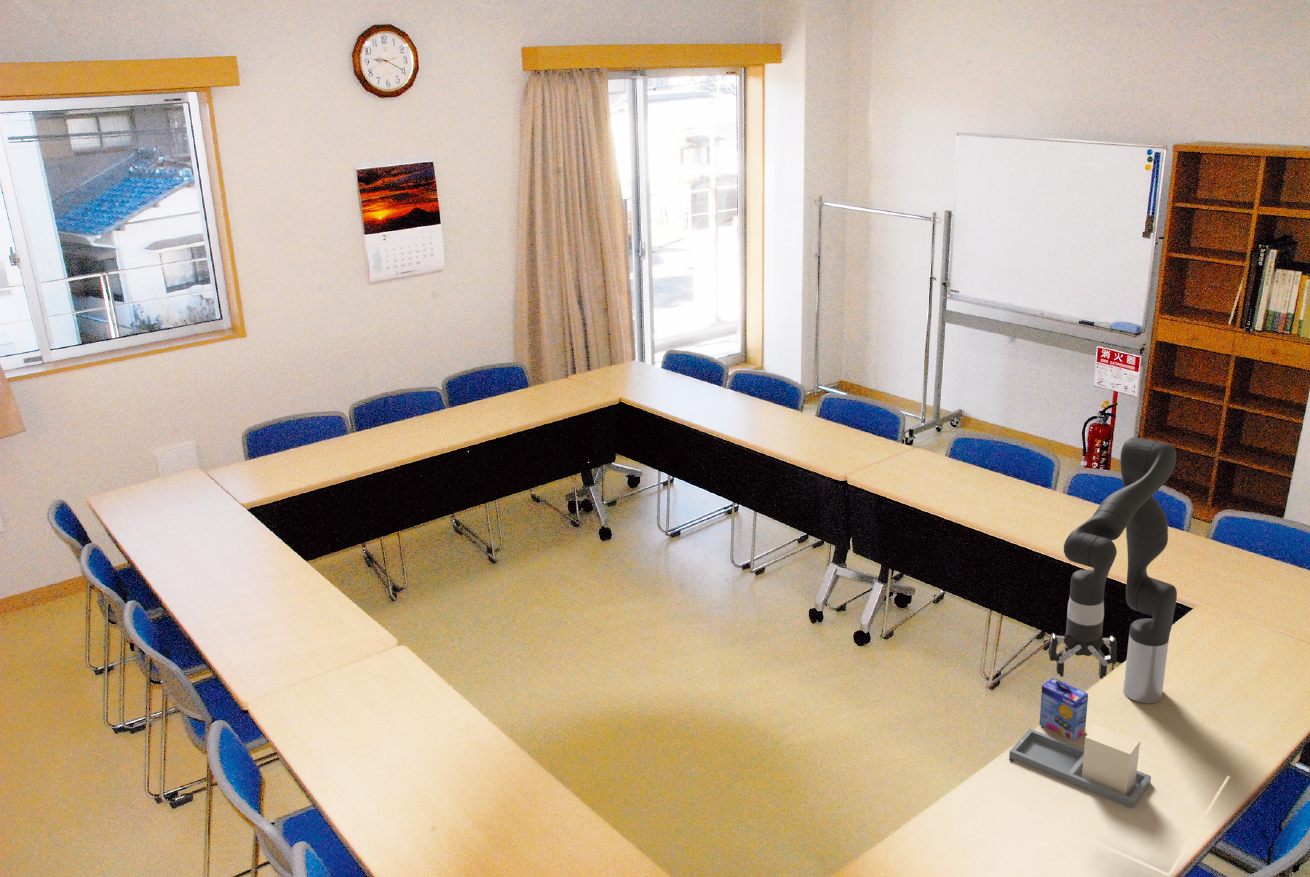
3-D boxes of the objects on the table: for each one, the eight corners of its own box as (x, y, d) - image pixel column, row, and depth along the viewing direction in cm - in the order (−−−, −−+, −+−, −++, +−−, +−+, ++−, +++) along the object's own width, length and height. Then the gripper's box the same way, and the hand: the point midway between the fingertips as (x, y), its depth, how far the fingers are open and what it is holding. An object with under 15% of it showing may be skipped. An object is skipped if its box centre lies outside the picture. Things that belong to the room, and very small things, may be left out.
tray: (1029, 736, 260) (1029, 728, 259) (1150, 784, 241) (1151, 775, 240) (1009, 759, 253) (1009, 750, 252) (1132, 810, 234) (1133, 801, 233)
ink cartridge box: (1037, 725, 264) (1041, 677, 259) (1050, 716, 267) (1053, 668, 262) (1073, 743, 257) (1077, 693, 252) (1085, 733, 260) (1090, 684, 255)
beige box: (1091, 766, 248) (1095, 724, 243) (1135, 783, 241) (1140, 740, 237) (1081, 779, 244) (1085, 737, 239) (1125, 797, 237) (1130, 754, 233)
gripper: (1116, 607, 236) (1111, 668, 242) (1049, 605, 239) (1046, 664, 245) (1122, 625, 229) (1116, 687, 235) (1053, 622, 233) (1049, 683, 239)
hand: (1080, 675), depth 240 cm, fingers open, 8 cm apart
